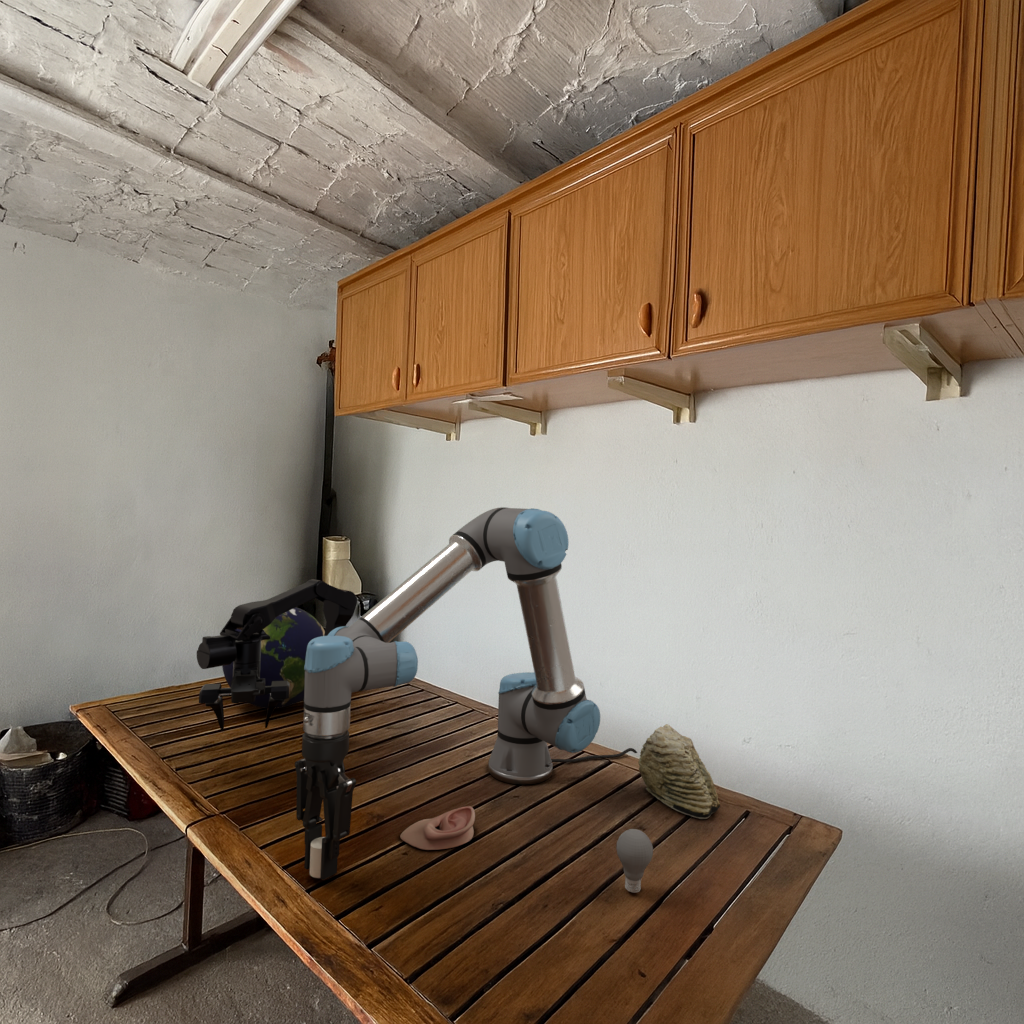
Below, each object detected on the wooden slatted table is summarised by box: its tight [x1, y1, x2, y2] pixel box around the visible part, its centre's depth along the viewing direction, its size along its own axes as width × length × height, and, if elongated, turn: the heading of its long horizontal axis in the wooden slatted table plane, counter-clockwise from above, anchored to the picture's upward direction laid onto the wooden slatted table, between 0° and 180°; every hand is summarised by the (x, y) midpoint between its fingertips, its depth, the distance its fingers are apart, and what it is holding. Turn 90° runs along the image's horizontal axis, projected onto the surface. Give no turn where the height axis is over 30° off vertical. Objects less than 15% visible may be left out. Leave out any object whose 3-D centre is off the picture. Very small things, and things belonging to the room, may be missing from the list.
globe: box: [221, 607, 325, 709], centre depth 188 cm, size 30×30×30 cm
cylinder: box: [309, 836, 325, 879], centre depth 106 cm, size 4×4×5 cm
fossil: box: [637, 723, 721, 820], centre depth 139 cm, size 9×18×15 cm, turn 46°
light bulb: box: [615, 828, 654, 894], centre depth 106 cm, size 6×6×10 cm
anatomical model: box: [399, 805, 476, 851], centre depth 120 cm, size 13×4×12 cm
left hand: (244, 729), depth 144 cm, fingers open, 9 cm apart
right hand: (320, 870), depth 106 cm, fingers closed on cylinder, 4 cm apart
